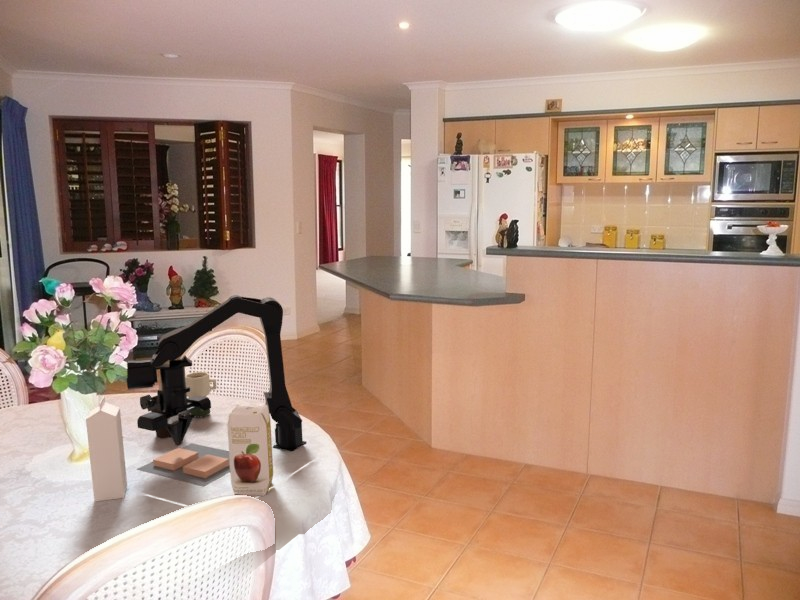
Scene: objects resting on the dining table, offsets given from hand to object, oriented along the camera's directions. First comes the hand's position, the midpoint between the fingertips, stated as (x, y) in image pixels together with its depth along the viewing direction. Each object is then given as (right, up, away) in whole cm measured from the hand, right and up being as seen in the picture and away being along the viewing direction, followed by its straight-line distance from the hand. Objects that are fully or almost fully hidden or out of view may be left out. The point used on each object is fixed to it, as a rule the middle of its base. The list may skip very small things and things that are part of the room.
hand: (178, 445), depth 154 cm
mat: (+5, -5, -1) cm, 7 cm away
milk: (-9, -8, -16) cm, 20 cm away
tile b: (+1, -3, +3) cm, 4 cm away
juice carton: (+22, -7, -15) cm, 28 cm away
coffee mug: (-9, -2, +21) cm, 22 cm away
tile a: (+10, -3, -1) cm, 11 cm away
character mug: (-6, +1, +35) cm, 35 cm away
